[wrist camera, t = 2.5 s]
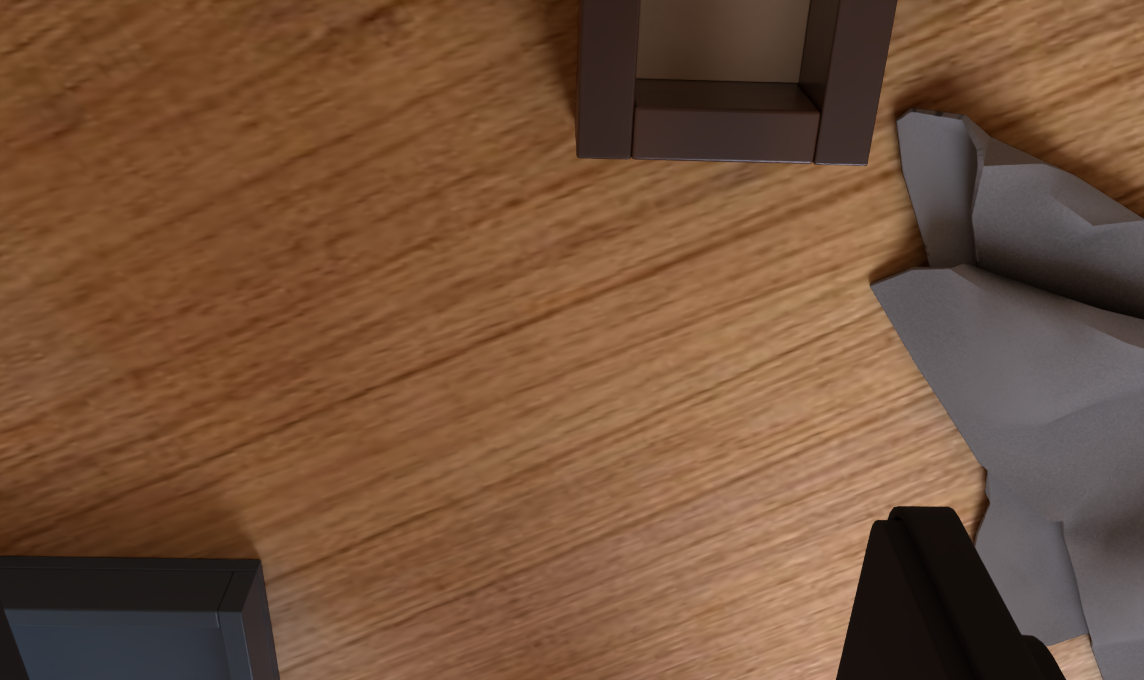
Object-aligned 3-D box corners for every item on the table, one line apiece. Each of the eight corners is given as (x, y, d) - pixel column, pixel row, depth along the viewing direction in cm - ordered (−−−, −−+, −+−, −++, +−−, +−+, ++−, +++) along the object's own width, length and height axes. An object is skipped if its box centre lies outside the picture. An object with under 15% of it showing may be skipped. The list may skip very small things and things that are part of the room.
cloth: (1330, 635, 38) (1373, 681, 36) (971, 721, 40) (992, 769, 38) (1347, -43, 26) (1412, -29, 24) (832, 131, 28) (853, 157, 26)
